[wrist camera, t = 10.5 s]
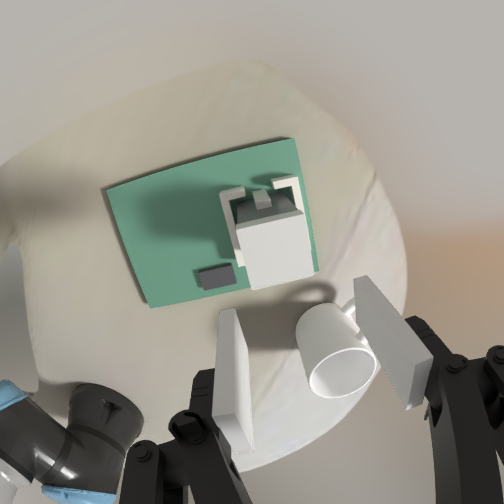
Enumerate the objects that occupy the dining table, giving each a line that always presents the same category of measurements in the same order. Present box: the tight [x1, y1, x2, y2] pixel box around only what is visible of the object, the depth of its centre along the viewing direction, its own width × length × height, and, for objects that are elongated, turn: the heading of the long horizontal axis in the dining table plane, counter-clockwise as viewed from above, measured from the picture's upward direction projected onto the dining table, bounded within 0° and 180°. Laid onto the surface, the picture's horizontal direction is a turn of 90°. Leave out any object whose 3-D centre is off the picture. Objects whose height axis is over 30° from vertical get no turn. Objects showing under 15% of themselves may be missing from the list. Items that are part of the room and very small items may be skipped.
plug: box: [236, 189, 315, 290], centre depth 28 cm, size 5×6×11 cm
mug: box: [295, 297, 376, 398], centre depth 35 cm, size 12×8×10 cm
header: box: [219, 174, 311, 267], centre depth 32 cm, size 8×8×2 cm
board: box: [106, 138, 319, 309], centre depth 33 cm, size 22×16×3 cm
